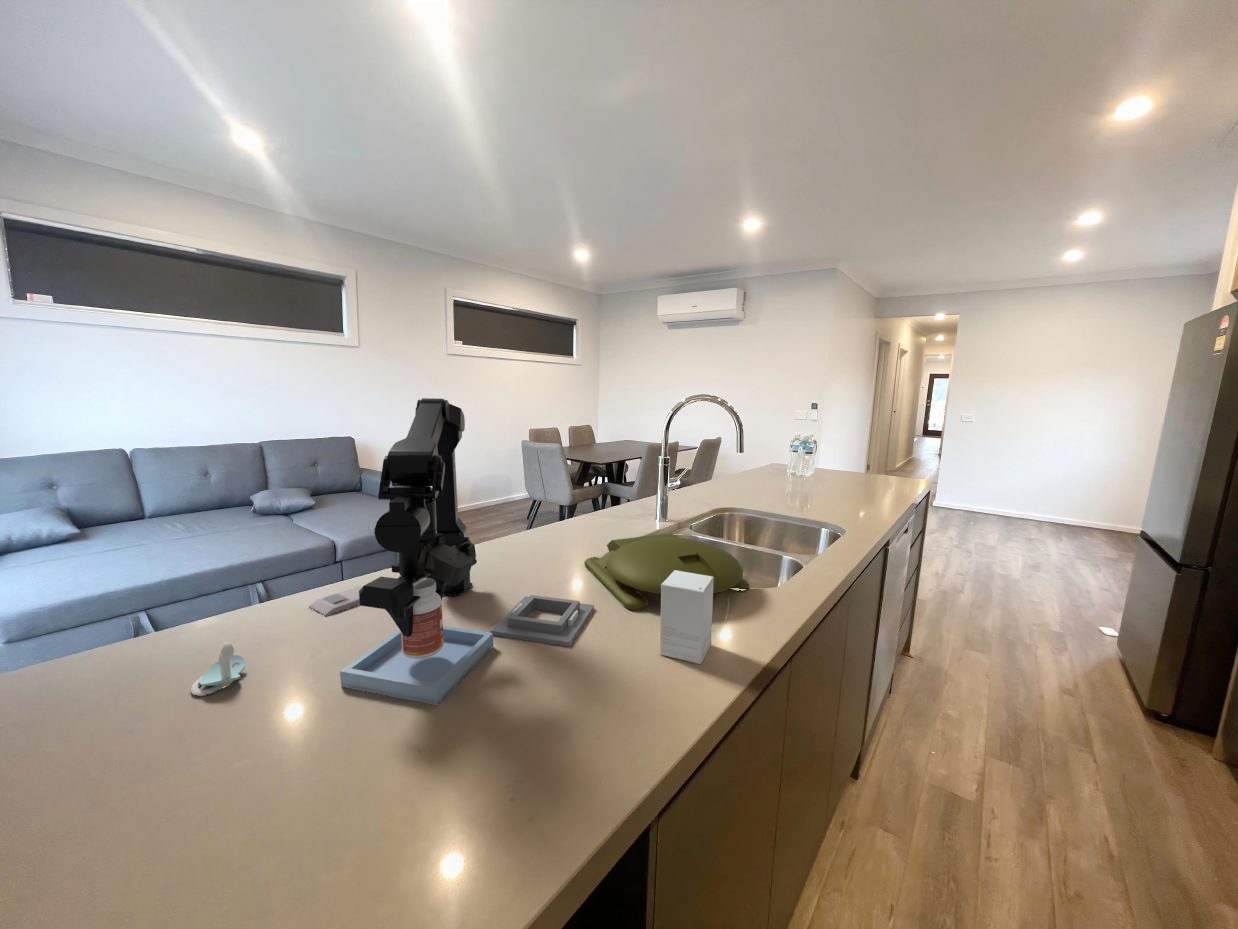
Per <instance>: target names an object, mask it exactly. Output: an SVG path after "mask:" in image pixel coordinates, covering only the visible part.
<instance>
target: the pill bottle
mask: <svg viewBox="0 0 1238 929" xmlns="http://www.w3.org/2000/svg"><path fill="white" fill-rule="evenodd" d="M435 591H436V582H435V580H434V579H431V578H424V579H423V580H421V581H419V582H418V583H416V584H414V588H413V592H414V594H413V596H420V599H419V600H418V601H417V602H416V603H415V604H414V605H413V628H412V635H411V636H410V637H406V636H404V635H403V634H402V632H401V631H400V632H401V647H402V653H403V655H404V656H406V657H408V658H413V659H422V658H427V657H430V656H432V655H434V654H436V653H437V652H439V651H440V650H441V649H442V647H443V644H444V639H443V626H444V624H443V604H442V603H443V602H442V601H443V600H442V601H441V597H440V595H439V594H437V593H436V592H435Z"/></svg>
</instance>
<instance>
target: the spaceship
mask: <svg viewBox="0 0 1238 929" xmlns="http://www.w3.org/2000/svg"><path fill="white" fill-rule="evenodd" d="M606 547H607V550H608V552H607V553H605V554H603V556H601V557H597V556H592V557H588V558H587V559H586V560H584V562H583V564H584V566H585V568H586V569H588V571H590V573H592V575H594V577H595V578H596V579H597V580H598V581H599V582H600V583H602V585H603V586H604V587H605V588H606V589H607V591H609V592H610V593H611V595H613V596H614V597H615V598H616V600H618V601H619V602H620V604H621V605H623V606H624V607H625V608H626V609H627V610H631V611H641V610H644V609H645V608H646V607H647V606H648V600H647V598H646V597H645V596H644V595H642V594H641V592H639V591H643V592H649V593H653V594H659V595H661V584H662V583H663V582H664V581H665V580H666V579H667V578H668V577H669V576H670V575H671V574H672V572H673V571H674V570H677V571H683V572H688V573H694V574H700V575H706V576H713V577H714V581H713V594H716V593H721V592H724V591H726V590H730V589H729V588H739V589H747V590H749V588H750V583H749V582H748V581H747V580H746V579H744V578H743V576H744V570H743V569H744V568H742V565H741V563H740V561H738V559H737V558H736V557H734V555H732V554H731V553H730V552H728V551H727V550H724V549H723V548H721V547H718V546H716V545H714V544H712V543H708V542H705V541H701V540H697V539H691V538H687V537H686V538H685V537H684V538H683V537H680V536H677V535H676V534H675V533H662V534H654V535H644V536H637V537H625V538H618V539H612V540H610V541H609V542H608V543H607V544H606ZM638 590H639V591H638ZM739 591H741V590H739ZM739 591H738V592H739ZM741 592H742V591H741Z"/></svg>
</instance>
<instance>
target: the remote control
mask: <svg viewBox="0 0 1238 929" xmlns="http://www.w3.org/2000/svg"><path fill="white" fill-rule="evenodd" d="M362 587H363V586H353V587H352V588H348V589H346V590H343V591H339V592H336V593H333V594H331V595H327V596H324V597H321V598H319V599H316V600H315V601H313V602H312V603H310V605H308V608H309V609H310V608H311V609H310V610H312V609H313V610H312V611H314V610H315V611H314V612H316V613H318V612H319V613H318V614H320V613H321V614H322V616H323V615H324V616H323V617H328V616H327V615H329V616H331V615H334V614H336V613H335V612H337V613H340V612H342V611H345V610H348V609H351V608H353V607H352V606H354V607H356V606H359V605H360V601H359V590H360V589H361V588H362ZM358 604H359V605H358ZM355 605H356V606H355ZM350 607H351V608H350ZM347 608H348V609H347ZM344 609H345V610H344ZM341 610H342V611H341ZM339 611H340V612H339ZM333 613H334V614H333ZM321 614H320V615H321ZM330 614H331V615H330Z"/></svg>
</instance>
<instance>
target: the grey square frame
mask: <svg viewBox="0 0 1238 929" xmlns="http://www.w3.org/2000/svg"><path fill="white" fill-rule="evenodd" d="M535 610H536V611H545V612H551V613H559V614H562V615H561V616H560V618H559V619H558V620H557V621H555V620H548V619H541V618H533V617H529V615H531V613H532V612H533V611H535ZM594 610H595V605H594V604H589V603H582V602H581V601H580V600H575V599H574V600H573V599H565V598H557V597H551V596H542V595H535V594H534V595H533V594H530V595H529V596H524V597H523V598H522V599H521V600H519V602H518V603H516V605H515V606H514V607H512V609H511V610H510V611H508V612H507V614H505V615H504V617H503V618H501V620H499V621H498V622H497V623H496V624H495V625H494V626H493V627H492V628H491V629H490V631H489V633H493V637H494V636H496V637H500V638H501V637H502V638H509V639H514V640H515V639H517V640H522V641H523V640H524V641H530V642H535V643H541V644H550V645H556V646H563V647H568V648H569V647H570V646H571V645H572V643H573V642H574V640H575V639H576V637H577V636H578V634H579V632H581V630H582V628H583V626H584V625H585V624H586V622H587V621H588V619H589V618H590V616H592V615H591V614H592V613H593V611H594Z"/></svg>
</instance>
